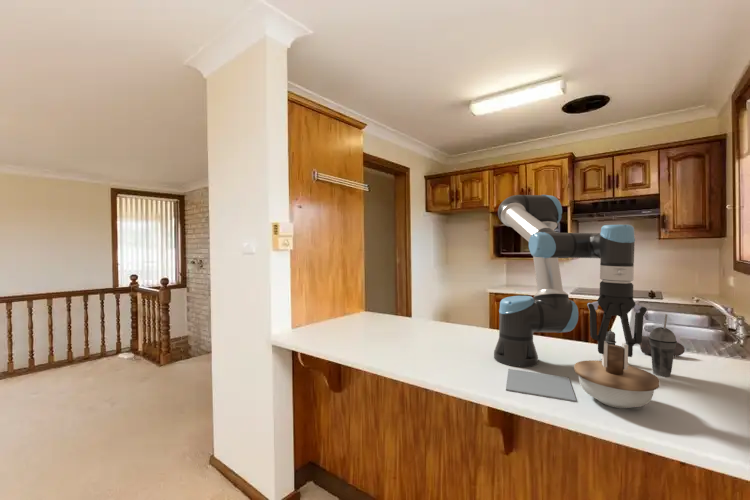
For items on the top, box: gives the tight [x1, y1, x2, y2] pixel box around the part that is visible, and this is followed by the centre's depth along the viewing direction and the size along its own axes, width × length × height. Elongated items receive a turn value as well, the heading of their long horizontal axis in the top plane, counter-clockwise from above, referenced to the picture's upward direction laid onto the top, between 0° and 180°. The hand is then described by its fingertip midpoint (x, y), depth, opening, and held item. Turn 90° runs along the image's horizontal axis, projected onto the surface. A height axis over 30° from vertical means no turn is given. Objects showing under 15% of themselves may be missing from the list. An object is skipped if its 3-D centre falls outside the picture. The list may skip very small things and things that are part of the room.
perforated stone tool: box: [638, 335, 686, 357], centre depth 136 cm, size 15×5×7 cm, turn 69°
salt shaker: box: [600, 328, 617, 361], centre depth 128 cm, size 6×6×12 cm
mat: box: [505, 368, 577, 403], centre depth 107 cm, size 18×18×1 cm
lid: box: [573, 344, 660, 391], centre depth 95 cm, size 19×19×8 cm
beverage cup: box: [648, 314, 678, 378], centre depth 116 cm, size 7×7×20 cm
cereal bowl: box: [578, 375, 655, 409], centre depth 95 cm, size 17×17×7 cm
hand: (614, 366), depth 95 cm, fingers closed on lid, 4 cm apart
